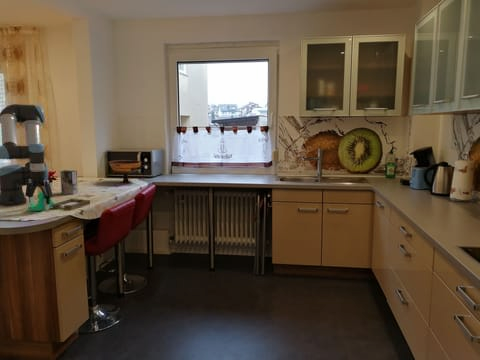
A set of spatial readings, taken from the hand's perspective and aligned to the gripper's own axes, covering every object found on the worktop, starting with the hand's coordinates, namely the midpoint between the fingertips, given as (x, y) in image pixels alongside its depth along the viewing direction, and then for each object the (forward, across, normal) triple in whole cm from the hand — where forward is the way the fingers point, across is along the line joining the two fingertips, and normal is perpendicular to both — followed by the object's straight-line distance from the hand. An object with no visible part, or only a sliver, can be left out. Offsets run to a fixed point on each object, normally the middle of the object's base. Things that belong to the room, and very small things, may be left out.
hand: (39, 208), depth 216 cm
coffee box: (0, -15, +45) cm, 48 cm away
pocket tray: (0, +11, +13) cm, 17 cm away
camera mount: (+1, +1, 0) cm, 1 cm away
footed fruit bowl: (0, -3, +99) cm, 99 cm away
